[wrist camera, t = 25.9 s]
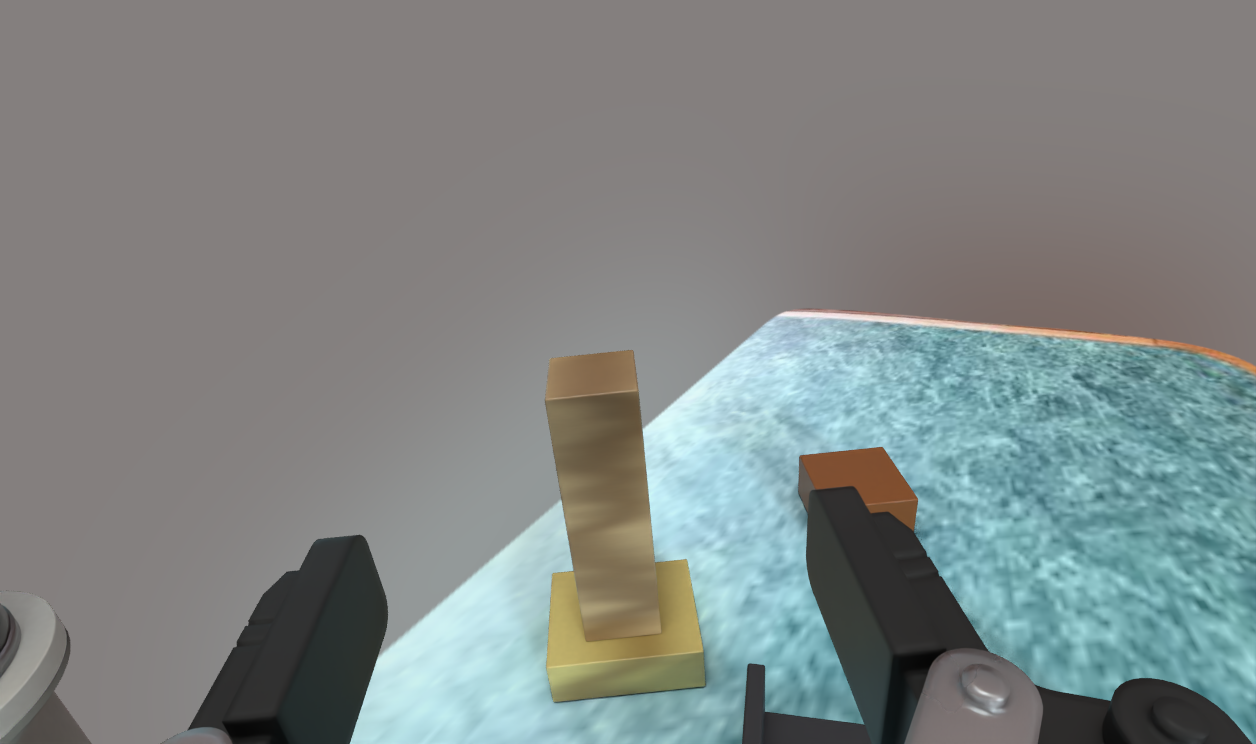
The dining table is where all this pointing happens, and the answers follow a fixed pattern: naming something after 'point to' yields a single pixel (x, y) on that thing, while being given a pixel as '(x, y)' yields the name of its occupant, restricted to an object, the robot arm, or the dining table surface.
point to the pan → (790, 721)
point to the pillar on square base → (612, 546)
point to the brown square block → (860, 480)
